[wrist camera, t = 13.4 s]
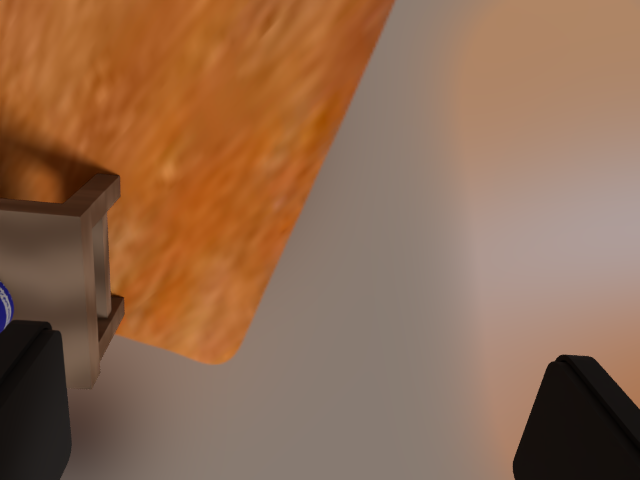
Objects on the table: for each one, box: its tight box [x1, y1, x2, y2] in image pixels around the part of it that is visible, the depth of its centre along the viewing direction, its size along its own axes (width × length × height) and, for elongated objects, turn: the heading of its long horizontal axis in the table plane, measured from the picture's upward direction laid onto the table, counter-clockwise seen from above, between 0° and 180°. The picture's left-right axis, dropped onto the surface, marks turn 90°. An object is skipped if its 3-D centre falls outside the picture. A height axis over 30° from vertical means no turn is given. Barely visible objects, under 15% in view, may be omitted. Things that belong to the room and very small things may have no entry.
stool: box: [0, 174, 124, 389], centre depth 40 cm, size 14×14×10 cm
